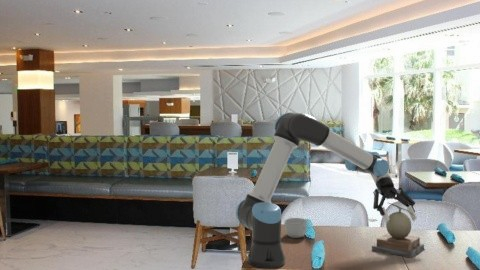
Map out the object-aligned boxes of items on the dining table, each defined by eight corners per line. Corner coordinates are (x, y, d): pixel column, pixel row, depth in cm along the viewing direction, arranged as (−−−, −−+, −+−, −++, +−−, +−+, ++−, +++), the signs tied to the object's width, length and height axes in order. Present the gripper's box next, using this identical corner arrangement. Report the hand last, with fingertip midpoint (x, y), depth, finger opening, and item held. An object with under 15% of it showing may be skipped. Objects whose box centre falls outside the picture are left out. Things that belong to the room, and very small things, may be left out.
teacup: (307, 239, 235) (307, 222, 235) (284, 239, 236) (284, 222, 235) (304, 231, 249) (304, 216, 249) (282, 231, 249) (283, 216, 249)
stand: (410, 257, 208) (410, 245, 207) (371, 250, 218) (372, 239, 218) (424, 248, 221) (424, 237, 220) (387, 241, 231) (387, 231, 231)
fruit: (414, 242, 213) (415, 207, 212) (387, 240, 215) (387, 206, 214) (411, 235, 223) (412, 202, 222) (384, 234, 226) (385, 201, 225)
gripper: (402, 184, 236) (422, 223, 223) (356, 187, 229) (372, 226, 216) (410, 175, 231) (429, 214, 217) (362, 177, 224) (379, 217, 210)
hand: (401, 220), depth 217 cm, fingers open, 13 cm apart
